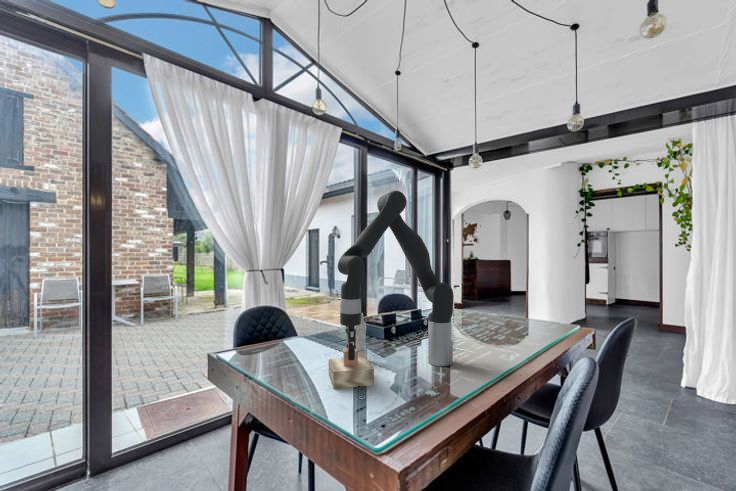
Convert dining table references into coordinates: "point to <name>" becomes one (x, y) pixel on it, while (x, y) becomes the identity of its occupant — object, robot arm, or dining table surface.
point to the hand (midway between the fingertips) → (350, 356)
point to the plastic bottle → (361, 338)
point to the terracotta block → (350, 362)
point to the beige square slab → (350, 373)
